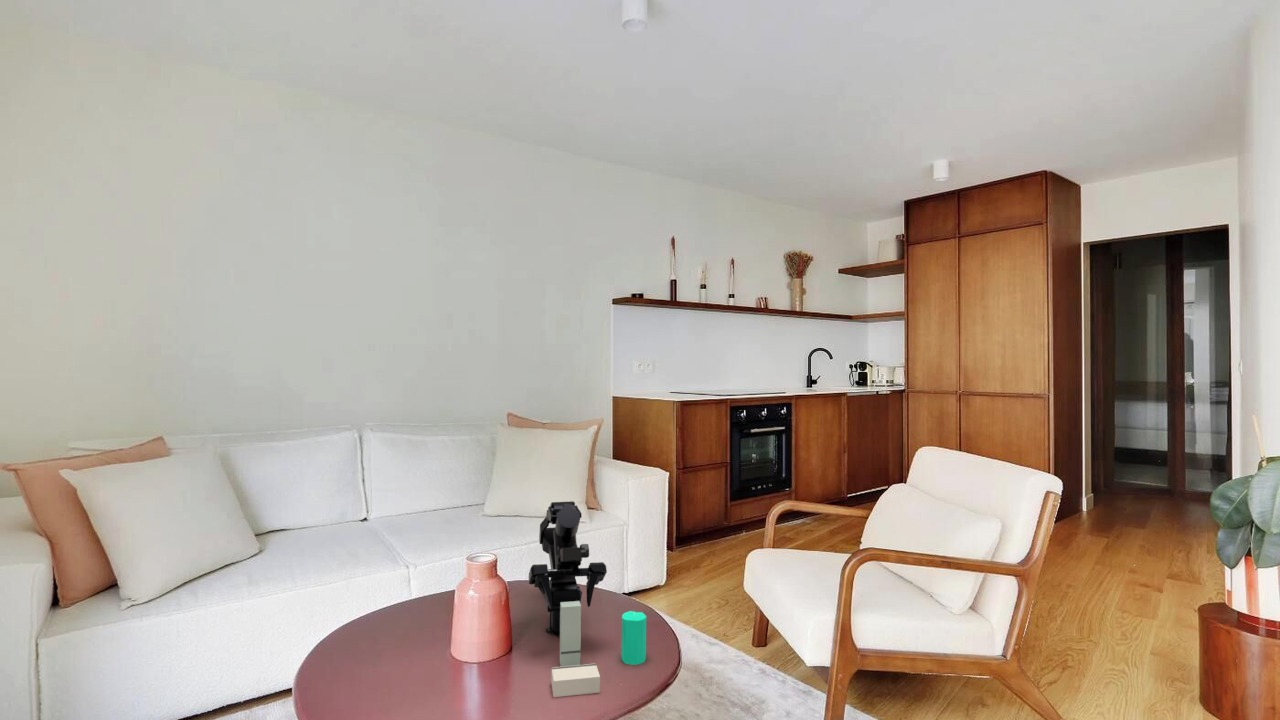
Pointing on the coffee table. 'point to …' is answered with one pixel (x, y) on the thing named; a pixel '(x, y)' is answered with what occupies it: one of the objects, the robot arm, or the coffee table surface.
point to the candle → (633, 637)
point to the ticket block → (575, 680)
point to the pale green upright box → (570, 633)
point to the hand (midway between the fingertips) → (570, 607)
